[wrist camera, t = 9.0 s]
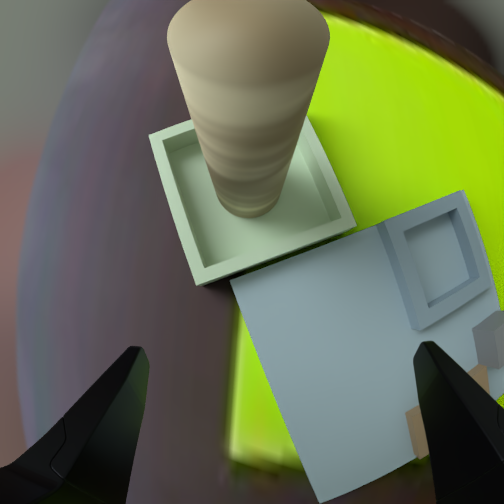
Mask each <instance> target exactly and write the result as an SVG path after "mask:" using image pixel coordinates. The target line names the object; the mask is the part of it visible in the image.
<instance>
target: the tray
mask: <svg viewBox="0 0 504 504" xmlns="http://www.w3.org/2000/svg"><path fill="white" fill-rule="evenodd" d="M149 138H150V142H151V146H152V149H153V153H154V156H155V160H156V163H157V166H158V170H159V173H160V177H161V180H162V183H163V187H164V190H165V193H166V196H167V200H168V203H169V206H170V209H171V212H172V215H173V218H174V222H175V225H176V228H177V231H178V234H179V237H180V240H181V243H182V246H183V249H184V252H185V255H186V258H187V260H188V263H189V266H190V269H191V272H192V275H193V278H194V280H195V283H196V285H197V286H204V285H206V284H209V283H212V282H215V281H217V280H220V279H223V278H226V277H228V276H231V275H234V274H236V273H239V272H242V271H245V270H247V269H250V268H253V267H255V266H258V265H261V264H263V263H266V262H269V261H271V260H274V259H277V258H280V257H282V256H285V255H288V254H290V253H293V252H296V251H298V250H301V249H303V248H306V247H309V246H311V245H314V244H317V243H319V242H322V241H325V240H327V239H330V238H332V237H335V236H338V235H340V234H343V233H345V232H347V231H348V230H350V229H352V228H354V227H355V226H357V224H356V222H355V219H354V217H353V215H352V212H351V210H350V207H349V205H348V203H347V200H346V198H345V196H344V193H343V191H342V189H341V186H340V184H339V182H338V180H337V178H336V175H335V173H334V171H333V169H332V167H331V164H330V162H329V160H328V158H327V156H326V154H325V152H324V150H323V147H322V145H321V143H320V141H319V139H318V137H317V135H316V133H315V131H314V129H313V127H312V125H311V123H310V121H309V119H308V117H307V115H306V117H305V120H304V124H303V127H302V130H301V133H300V136H299V139H298V142H297V145H296V148H295V151H294V154H293V158H292V161H291V164H290V167H289V170H288V173H287V176H286V179H285V182H284V185H283V188H282V191H281V194H280V197H279V200H278V201H277V203H276V205H275V206H274V207H273V208H272V209H271V210H270V211H269V212H267V213H266V214H264V215H262V216H259V217H255V218H242V217H238V216H235V215H233V214H231V213H229V212H228V211H227V210H226V209H225V208H224V207H223V206H222V205H221V203H220V202H219V200H218V198H217V195H216V192H215V189H214V186H213V183H212V180H211V177H210V174H209V171H208V168H207V165H206V162H205V159H204V155H203V152H202V149H201V146H200V143H199V140H198V137H197V134H196V131H195V128H194V125H193V122H192V119H191V120H188V121H185V122H183V123H180V124H177V125H174V126H172V127H169V128H166V129H164V130H161V131H159V132H156V133H153V134H151V135H149Z"/></svg>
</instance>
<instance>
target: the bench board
mask: <svg viewBox="0 0 504 504" xmlns="http://www.w3.org/2000/svg"><path fill="white" fill-rule="evenodd" d="M230 283H231V286H232V288H233V291H234V294H235V296H236V299H237V302H238V304H239V307H240V310H241V312H242V315H243V318H244V320H245V323H246V326H247V328H248V331H249V333H250V336H251V339H252V341H253V344H254V346H255V349H256V351H257V354H258V357H259V359H260V362H261V364H262V367H263V369H264V372H265V374H266V377H267V379H268V382H269V384H270V387H271V389H272V392H273V394H274V397H275V399H276V402H277V404H278V407H279V409H280V412H281V414H282V417H283V419H284V421H285V424H286V426H287V429H288V431H289V433H290V436H291V438H292V441H293V443H294V445H295V448H296V450H297V453H298V455H299V457H300V460H301V462H302V464H303V467H304V469H305V471H306V474H307V476H308V478H309V481H310V483H311V485H312V487H313V490H314V492H315V494H316V497H317V499H318V501H319V503H323V502H325V501H328V500H330V499H333V498H335V497H338V496H340V495H343V494H345V493H347V492H350V491H352V490H354V489H356V488H359V487H361V486H363V485H365V484H367V483H369V482H371V481H374V480H376V479H378V478H380V477H382V476H384V475H385V474H387V473H389V472H391V471H393V470H395V469H397V468H399V467H400V466H402V465H404V464H406V463H407V462H409V461H411V460H413V459H414V458H416V457H418V458H419V459H421V458H423V457H425V456H426V455H428V454H429V450H428V444H427V439H426V434H425V429H424V425H423V420H422V415H421V411H420V407H419V402H418V395H417V387H416V380H415V373H414V367H413V357H414V355H415V353H416V351H417V349H418V347H419V345H420V343H421V342H423V341H430V340H431V341H434V342H435V343H436V344H437V345H438V346H439V347H441V348H442V349H443V350H444V351H445V352H446V353H447V354H448V355H449V356H450V357H451V358H452V359H453V360H454V361H455V362H457V363H458V364H459V365H460V366H461V367H462V368H463V369H464V370H465V371H466V372H467V373H468V374H469V375H470V376H471V377H472V378H473V379H474V380H475V381H476V382H477V383H478V384H479V385H480V386H481V387H482V388H483V389H484V390H485V391H486V392H487V393H488V394H489V395H490V396H491V397H492V398H493V399H494V400H497V399H498V398H499V397H500V396H501V395H502V394H503V393H504V311H500V306H499V301H498V297H497V292H496V288H495V284H494V280H493V276H492V272H491V269H490V265H489V261H488V258H487V255H486V251H485V248H484V245H483V242H482V238H481V235H480V232H479V229H478V227H477V224H476V221H475V218H474V215H473V213H472V210H471V207H470V205H469V202H468V200H467V197H466V195H465V192H464V190H460V191H457V192H455V193H452V194H450V195H447V196H445V197H442V198H440V199H437V200H435V201H432V202H430V203H427V204H425V205H422V206H420V207H417V208H415V209H412V210H410V211H407V212H405V213H402V214H400V215H397V216H395V217H392V218H390V219H387V220H385V221H383V222H381V223H379V224H377V225H374V226H372V227H369V228H367V229H364V230H362V231H359V232H356V233H354V234H351V235H349V236H346V237H344V238H341V239H338V240H336V241H333V242H331V243H328V244H325V245H323V246H320V247H318V248H315V249H312V250H310V251H307V252H304V253H302V254H299V255H297V256H294V257H291V258H289V259H286V260H283V261H281V262H278V263H275V264H273V265H270V266H267V267H265V268H262V269H259V270H257V271H254V272H251V273H248V274H246V275H243V276H240V277H238V278H235V279H232V280H230Z"/></svg>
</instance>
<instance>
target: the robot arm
mask: <svg viewBox="0 0 504 504" xmlns="http://www.w3.org/2000/svg"><path fill="white" fill-rule="evenodd" d="M413 367H414V373H415V380H416V387H417V395H418V402H419V407H420V411H421V415H422V420H423V425H424V429H425V434H426V439H427V444H428V450H429V455H430V461H431V467H432V474H433V480H434V487H435V495H436V500H437V501H436V504H504V409H503V408H502V407H501V406H500V405H499V404H498V403H497V402H496V401H495V400H494V399H493V398H492V397H491V396H490V395H489V394H488V393H487V392H486V391H485V390H484V389H483V388H482V387H481V386H480V385H479V384H478V383H477V382H476V381H475V380H474V379H473V378H472V377H471V376H470V375H469V374H468V373H467V372H466V371H465V370H464V369H463V368H462V367H461V366H460V365H459V364H458V363H457V362H455V361H454V360H453V359H452V358H451V357H450V356H449V355H448V354H447V353H446V352H445V351H444V350H443V349H442V348H441V347H439V346H438V345H437V344H436V343H435V342H434V341H431V340H430V341H423V342H421V343H420V345H419V347H418V349H417V351H416V353H415V355H414V357H413ZM148 376H149V361H148V359H147V356H146V354H145V351H144V349H143V348H142V347H139V346H130V347H128V348H127V349H126V350H125V351H124V353H123V354H122V355H121V356H120V357H119V358H118V359H117V360H116V361H115V362H114V363H113V364H112V365H111V366H110V367H109V368H108V369H107V370H106V371H105V372H104V373H103V374H102V375H101V376H100V377H99V379H98V380H97V381H96V382H95V383H94V384H93V385H92V386H91V387H90V388H89V389H88V390H87V391H86V392H85V393H84V394H83V395H82V396H81V397H80V398H79V400H78V401H77V402H76V403H75V404H74V405H73V406H72V407H71V408H70V409H69V410H68V411H67V412H66V413H65V414H64V416H63V417H62V418H61V419H60V420H59V421H58V422H57V423H56V424H55V425H54V426H53V427H52V428H51V429H50V430H49V431H48V432H47V433H46V434H45V435H44V436H43V437H42V438H41V439H39V440H38V441H37V442H36V443H35V444H34V445H33V446H32V447H30V448H29V449H28V450H27V451H26V452H25V453H24V454H22V455H21V456H20V457H19V458H18V459H16V460H15V461H14V462H12V463H11V464H9V465H7V466H4V467H1V468H0V504H126V498H127V492H128V487H129V481H130V476H131V471H132V466H133V461H134V456H135V451H136V446H137V441H138V437H139V432H140V427H141V423H142V419H143V414H144V409H145V402H146V393H147V384H148Z"/></svg>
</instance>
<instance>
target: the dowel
mask: <svg viewBox="0 0 504 504" xmlns="http://www.w3.org/2000/svg"><path fill="white" fill-rule="evenodd" d="M329 40H330V32H329V28H328V25H327V23H326V20H325V19H324V17H323V16H322V14H321V13H320V12H319V11H318V10H317V9H316V8H315V7H314V6H313V5H311V4H310V3H309V2H307V1H306V0H191V1H190V2H188V3H187V4H186V5H184V6H183V7H182V8H181V9H180V10H179V11H178V12H177V13H176V15H175V16H174V17H173V19H172V21H171V23H170V25H169V27H168V32H167V42H168V46H169V49H170V53H171V56H172V59H173V62H174V65H175V69H176V72H177V75H178V78H179V81H180V84H181V87H182V91H183V94H184V97H185V100H186V103H187V106H188V109H189V112H190V116H191V119H192V122H193V125H194V128H195V131H196V134H197V137H198V140H199V143H200V146H201V149H202V152H203V155H204V159H205V162H206V165H207V168H208V171H209V174H210V177H211V180H212V183H213V186H214V189H215V192H216V195H217V198H218V200H219V202H220V203H221V205H222V206H223V207H224V208H225V209H226V210H227V211H228V212H229V213H231V214H233V215H235V216H238V217H242V218H255V217H259V216H262V215H264V214H266V213H267V212H269V211H270V210H271V209H272V208H273V207H274V206H275V205H276V203H277V201H278V200H279V197H280V194H281V191H282V188H283V185H284V182H285V179H286V176H287V173H288V170H289V167H290V164H291V161H292V158H293V154H294V151H295V148H296V145H297V142H298V139H299V136H300V133H301V130H302V127H303V124H304V120H305V117H306V114H307V111H308V108H309V105H310V102H311V99H312V96H313V92H314V89H315V86H316V83H317V80H318V77H319V74H320V71H321V67H322V64H323V61H324V58H325V55H326V52H327V48H328V45H329Z"/></svg>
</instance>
